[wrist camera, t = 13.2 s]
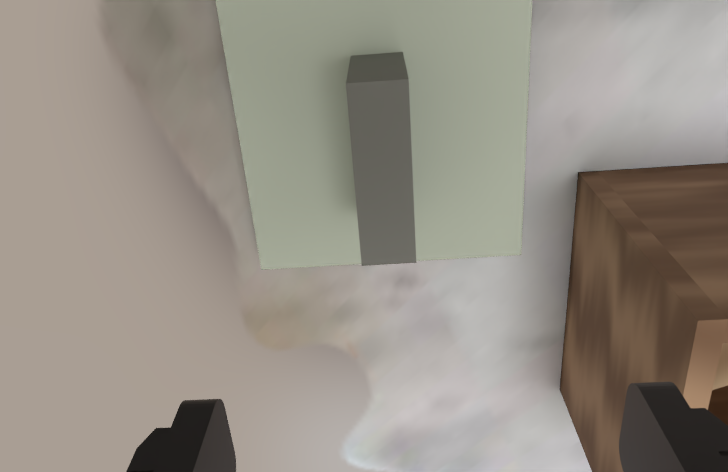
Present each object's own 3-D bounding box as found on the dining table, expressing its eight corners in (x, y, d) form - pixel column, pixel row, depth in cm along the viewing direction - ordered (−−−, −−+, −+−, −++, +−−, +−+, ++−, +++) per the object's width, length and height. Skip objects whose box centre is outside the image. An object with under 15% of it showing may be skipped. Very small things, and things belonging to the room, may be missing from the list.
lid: (224, -9, 30) (180, 12, 23) (523, -32, 29) (568, -18, 22) (267, 252, 36) (242, 328, 29) (513, 237, 35) (546, 312, 28)
